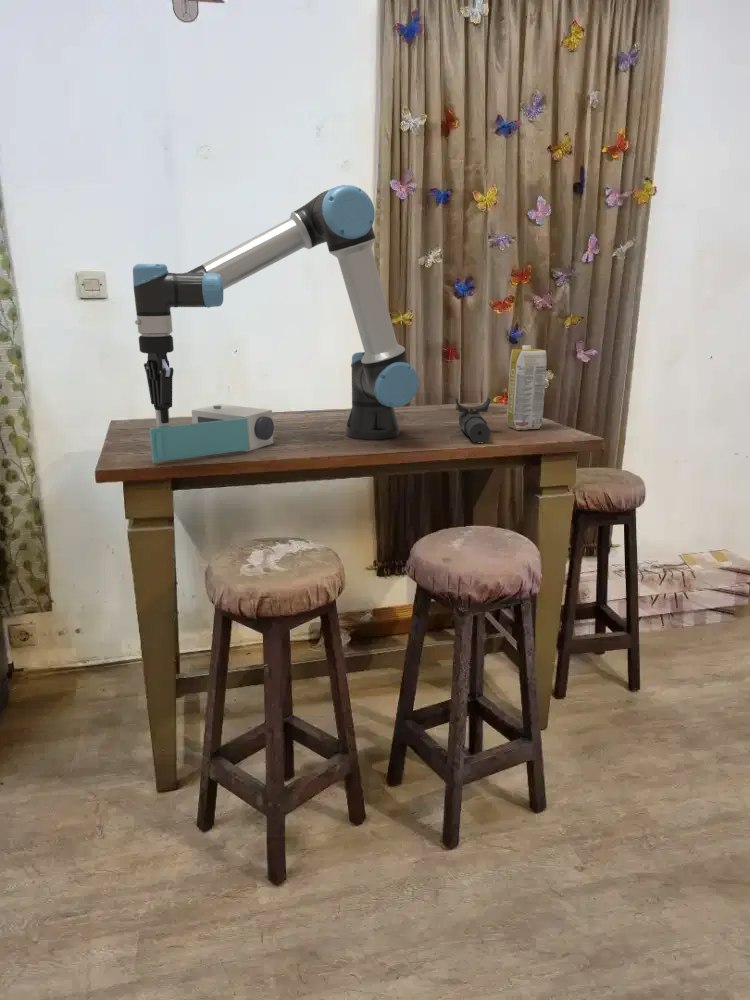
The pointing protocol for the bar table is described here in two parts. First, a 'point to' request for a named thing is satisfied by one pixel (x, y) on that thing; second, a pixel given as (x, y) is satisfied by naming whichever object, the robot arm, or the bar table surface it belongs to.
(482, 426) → the laser sight
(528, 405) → the juice carton
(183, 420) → the bar table surface
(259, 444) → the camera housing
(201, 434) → the side door
